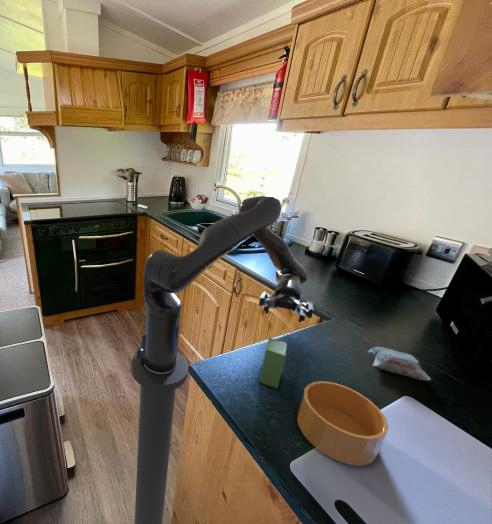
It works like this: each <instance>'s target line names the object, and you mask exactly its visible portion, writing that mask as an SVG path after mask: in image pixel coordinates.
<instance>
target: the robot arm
mask: <svg viewBox="0 0 492 524" xmlns="http://www.w3.org/2000/svg"><path fill="white" fill-rule="evenodd" d="M281 212H282V203H281V201H280V200H279V198H278V197H276V196H274V195H270V194H268V195H267V194H265V195H260V196H259V195H258V196H252V197H247V198H245V199H243V200H242V202H241V203H240V206H239V213H235V214H233V215H232V214H231V215H229V216H226V217H223V218H221V219H219V220H217V221H215V222H213V223H212V224H210V225H209V226H207V227H206V228H205V229H204V230H202V233H201V234H200V236H199V239H198V244H197V247H196V248H195V249H194V250H192V251H191V252H189V253H187V254H185V255H181V256H180V255H177V254H174V253H171V252H169V251H167V250H163V249H159V250H155V251H153V252H151V253H150V254H149V256H148V257H147V258H146V261H145V264H144V268H143V301H144V304H145V307H146V308H145V329H144V333H143V334H142V336H141V344H140V346H139V347H138V348H137V350H136V353H137V358H139V359H141V365H143V366H144V367H145V369H146V370H147V371H149V372H150V373H152V374H155V375H167V374H170V373H172V372H173V371H174V370H175V369H176V362H177V356H178V354H177V352H178V349H179V339H180V338H179V337H180V327H181V318H182V302H181V300H180V298H179V297H177V295H176V294H178V293H181V292H183V291H184V290H185V289H187V288H188V287H189V286H190V285H191V284H193V283H194V282H195V281H196V280H197V279H198V278H199V277H200V276H201V275H202V274H203V273H204V272H205V271H206V270H207V269H209V268H210V267H212V266H213V264H215V263H216V262H218V261H219V260H220V259H222V258H223V257H224V256H226V255H227V254H229V253H230V252H232V251H233V250H235V249H236V248H238V246H240V245H241V244H242V243H244V242H245V241H247V240H248V239H249V238H251V237H252V236H254V238H255V239H256V240H257V241H258V242H259V243H260V245H261V246H262V247H263V249H264V250H265V252H266V254H267V256H268V257H269V259H270V261H271V263H272V265H273V267H274V268H275V269H276V272H275V273H274V278H275V282H276V283H277V285H276V286H275V290H274V293H273V294H272V295H271V294H269V293H268V292H267V291H265V290H264V291H263V292H262V293H261V295H260V296H259V301H258V305H259V306H260V307H263V311H264V312H265V314H269V311H270V309H278V308H281V309H284V310H288V311H290V312H292V313H293V314H294V315H298V322H299V323H302V322H305V320H306V317H307V318H308V319H312V318H313V313H314V311H315V309H314V303H313V302H312V301H307V302H303V300H301V297H302V289H301V288H302V287H301V286H302V284H304V283H306V282H307V280H308V276H309V275H308V271H307V270H306V269H305V267H304V266H303V265H302V264H301V263H300V262H298V261H297V259H296V258H295V257H294V255H293V253H292V251H291V249H290V247H289V244H287V243H286V241H285V240H284V239H282V238H281V237H280V236H279V235H278V234H276V233H275V232H273V230H271V229H270V228H269V226H272V225H273V224H275V222H277V220H278V219H279V218H280V216H281V214H282V213H281Z"/></svg>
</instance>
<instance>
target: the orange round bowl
mask: <svg viewBox="0 0 492 524" xmlns="http://www.w3.org/2000/svg"><path fill="white" fill-rule="evenodd" d="M296 420H297V425H298V427H299V430H300V431H301V433H302V435H303V436H304V437H305V439H306V440H307V441H308V442H309V443H310V444H311V445H312V446H313V447H315V448H316V449H317V450H318V451H320V452H321V453H323V455H326V456H327V457H329V458H331V459H333V460H335V461H336V462H340V463H342V464H346V465H349V466H357V467H358V466H359V467H361V466H367V465H370V464H371V463H372V462H374V460H375V459H377V456H378V454H379V451H380V450H381V446H382V445H383V442H384V440H385V438H386V436H387V433H388V429H389V424H388V421H387V418H386V416H385V415H384V413H383V412H382V410H381V409H380V408H379V407H378V406H377V405H376V404H375V403H374V402H373V401H372V400H370V399H369V398H367V397H366V396H365V395H363V394H362V393H360V392H358V391H356V390H354V389H352V388H350V387H348V386H346V385H343V384H340V383H336V382H332V381H325V380H320V381H313V382H311V383H309V384H307V385H306V387H305V388H304V390H303V393H302V397H301V400H300V403H299V407H298V411H297V416H296Z"/></svg>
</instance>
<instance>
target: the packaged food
mask: <svg viewBox="0 0 492 524" xmlns="http://www.w3.org/2000/svg"><path fill="white" fill-rule="evenodd" d="M367 353H368V354H370V355H371V357H372V358H373V359H374V360H373V363H372V365H371V366H372V367H374V368H378V369H379V370H381V371H386V372H390V373H394V374H397V375H400V376H403V377H407V378H411V379H415V380H421V381H426V382H430V381H431V380H432V378H431V377H430V376H429V375H428V374H427V373H426V371H424V370H423V368H422V366H421V363H420V362H419V360H418V359H417V358H416V357H414V355H412V354H409V353H405V352H402V351H397V350H395V349H391V348H387V347H383V346H373V347H371V348H369V349H368V350H367Z"/></svg>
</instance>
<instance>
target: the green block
mask: <svg viewBox="0 0 492 524" xmlns="http://www.w3.org/2000/svg"><path fill="white" fill-rule="evenodd" d="M287 348H288V342H284V341H281V340H279V339H275V338H272V337H269V338H268V340H267V344H266V348H265V352H264V358H263V363H262V365H261V366H262V367H261V371H260V374H259V375H260V376H259V380H258V383H260V384H264V385H267V386H268V387H270V388H271V387H272V388H273V389H278V387H279V384H280V380H281V376H282V373H283V369H284V364H285V360H286V356H287Z"/></svg>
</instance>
